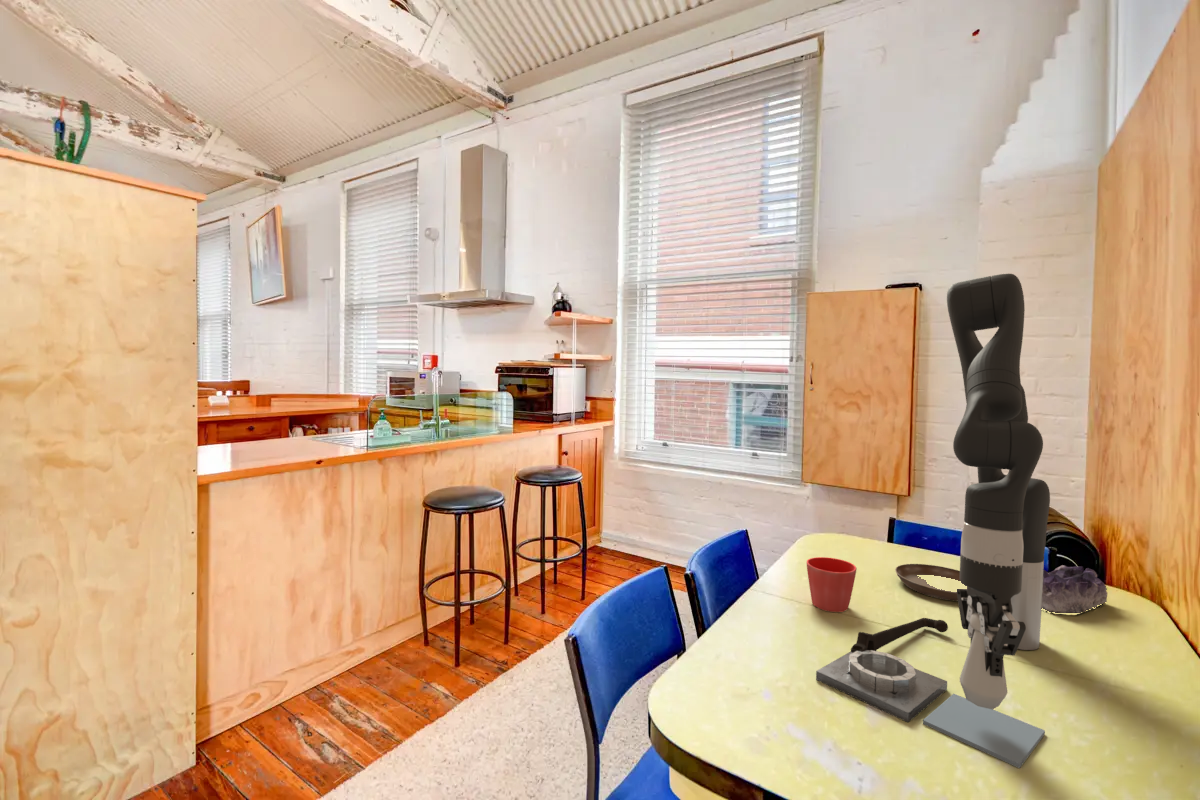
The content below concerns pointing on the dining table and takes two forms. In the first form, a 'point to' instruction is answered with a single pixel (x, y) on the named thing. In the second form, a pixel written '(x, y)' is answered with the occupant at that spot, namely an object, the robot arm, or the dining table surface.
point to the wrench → (894, 634)
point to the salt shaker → (981, 672)
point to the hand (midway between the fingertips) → (985, 670)
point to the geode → (1072, 590)
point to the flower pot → (831, 583)
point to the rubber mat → (985, 729)
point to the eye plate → (883, 682)
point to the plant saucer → (920, 585)
